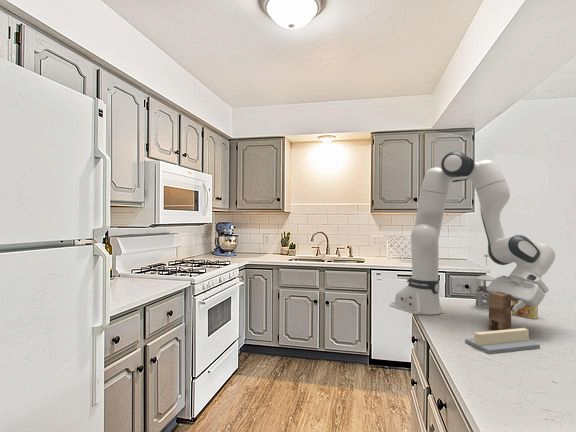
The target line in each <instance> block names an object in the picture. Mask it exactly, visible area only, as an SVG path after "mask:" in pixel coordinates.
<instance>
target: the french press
mask: <svg viewBox="0 0 576 432" xmlns="http://www.w3.org/2000/svg"><path fill="white" fill-rule="evenodd" d="M483 257H484V258H485V265H487V262H488V260H487V258H490V256H489V254H488V253H487V254H484V256H483ZM495 279H496V277H493V276H491V275H488V274H483V275H479V276H477V277H476V280H478V281H483V282H492V281H493V280H495ZM476 280H475V281H472V282H471V284H470V286H469V288H470V289H472V287H473V286H474V284H476V285H478V284H479V282H478V281H476ZM487 287H488V285H478V286H477V289H476V292H475V293H476V295H474V294H473V291H472V290H469V292H470V295H472V296H473V297H474V298H475V305H474V306H473V308H474V309H475V308H476V309H475V310H477V309H478V311H481V310H482V312H488V313H489V292H488V291H487Z"/></svg>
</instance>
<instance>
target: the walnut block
mask: <svg viewBox="0 0 576 432" xmlns="http://www.w3.org/2000/svg"><path fill="white" fill-rule="evenodd" d="M488 296H489V312H488V331H497V330H507V329H512V311H511V310H510V307H511V306H512V301H511V297H512V295H510V294H506V293H502V292H489V295H488Z"/></svg>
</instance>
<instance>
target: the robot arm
mask: <svg viewBox="0 0 576 432" xmlns="http://www.w3.org/2000/svg"><path fill="white" fill-rule="evenodd" d="M440 163H441V164H440V167H438V166H436V167H431V168H429V169H428V170H427V171H426V172H425V175H424V177H423V180H422V184H421V187H420V193H419V197H418V202H417V207H416V208H417V209H416V215H415V222H414V223H415V225H414V228H413V229H412V230H411V234H410V243H411V246H410V247H411V248H410V249H411V252H410V253H411V277H410V278H408V279H407V278H406V283H408V284H407V285H406V286H405V287H403V288H402V289H400V290H398V292H397V293H396V294H395V297H394V301H392V302H390V303H389V307H391V308H393V309H396V310H400V311H403V312H406V313H409V314H412V315H430V316H431V315H439V314H442V313H443V310H442V307H441V302H440V294H439V292H440V280H439V238H440V232H441V228H442V222H443V218H444V212H445V207H446V202H447V199H448V198H447V197H448V192H449V187H450V184H451V183H455V182H457V183H458V182H463V181H467V180H470V181H471V183H472V184H473V186H474V189H475V191H476V195H477V198H478V202H479V205H480V210H479V211H480V216H481V217H480V218H481V221H482V223H483V228H484V231H485V235H486V238H487V252H488V253H487V254H488V255H489V258H490V260H492V262H493V263H495V264H497V265H500V266H507V265H510V264H512V263H515V264H516V267H514V268H513V270H512V271H511V273H510V274H509V275H508V276H507V275H501V276H497V277H495V280H493V281H490V283H489V284H488V285H487V286H488V287H487V291H488V292H502V293H506V294H510V295H512V297H511V302H512V301H514V302H518V303H517V304H516V305H512V304H511V307H510V310H511V312H512V311H513V312H517V311H518V309H520V308H523V307H524V306H525V305H529V306H532V307H535V306H538V307H539V305H540V304H541V303H542V301H543V300H544V298H545V296H546V294H547V293H548V292H549V287H548V286H547V285H546V283H545V282H544V281H543V279H542V277H543V276H544V275H545V274H546V273H548V271H549V270H550V269H551V267H552V266H553V264H554V262H555V260H556V253H555V250H554V248H552V247H551V246H550V245H548V244H547V243H543V242H537V241H533V240H531V239H529V238H528V237H527V236H525V235H522V234H515V235H512V236H509V237H506V236H505V233H504V230H503V227H502V223H501V219H500V218H501V212H502V211H503V209H504V208H505V206H506V205H507V204H508V202H509V200H510V197H511V194H510V193H511V192H510V188H509V185H508V183H507V181H506V178H505V176H504V174H503V172H502V171H501V169H500V168H499V166H498V165H497V163H496V162H495V161H494V160H492V159H482V160H479V161H475V160H474V159H473V158H472V157H471V156H469V154H466V153H464V152H462V151H459V150H458V151H450V152H448V153H447V154H445V155H444V157H442V159H441V162H440Z"/></svg>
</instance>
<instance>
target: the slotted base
mask: <svg viewBox="0 0 576 432" xmlns="http://www.w3.org/2000/svg"><path fill="white" fill-rule="evenodd" d="M529 332H530V330H529V329H528V328H525V327H521V328H520V327H519V328H511V329H507V330H488V331H487V330H486V331H476V332H473V333H474V334H473V335H474V336H473V337H472V338H465V339H464V343H465V344H467V345H469V346H471V347H473V348H476V349H478V350H479V351H482V352H483V353H486V354H488V355H493V354H502V353H511V352H518V351H528V350H537V349H541V345H540V344H539V343H537V342H533V341H531V340H530V339H529V338H530V336H529V334H530V333H529Z"/></svg>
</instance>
